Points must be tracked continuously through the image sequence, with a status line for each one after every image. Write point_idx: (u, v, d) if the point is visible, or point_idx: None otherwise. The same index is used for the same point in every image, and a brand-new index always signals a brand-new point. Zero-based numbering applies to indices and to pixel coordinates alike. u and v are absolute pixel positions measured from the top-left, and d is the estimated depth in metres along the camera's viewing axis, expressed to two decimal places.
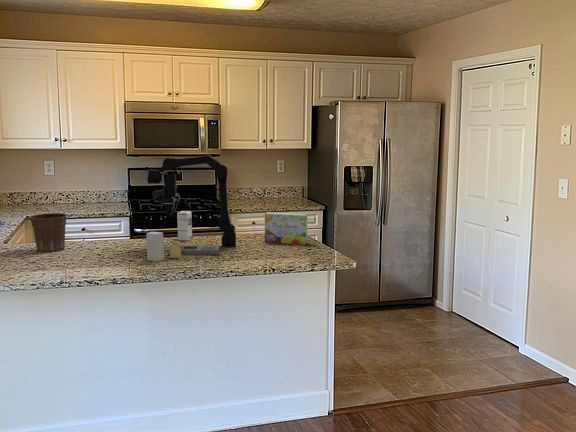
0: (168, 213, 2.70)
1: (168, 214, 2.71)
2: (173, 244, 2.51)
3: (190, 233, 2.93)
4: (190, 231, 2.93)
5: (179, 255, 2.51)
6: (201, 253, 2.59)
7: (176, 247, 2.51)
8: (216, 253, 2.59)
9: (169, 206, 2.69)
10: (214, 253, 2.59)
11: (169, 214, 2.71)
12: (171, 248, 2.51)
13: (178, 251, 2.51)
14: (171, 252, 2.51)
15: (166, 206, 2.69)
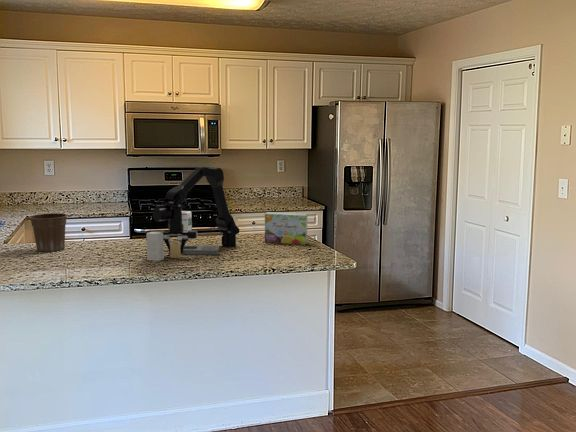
0: None
1: None
2: (173, 244, 2.51)
3: None
4: None
5: (179, 255, 2.51)
6: (201, 253, 2.59)
7: (176, 247, 2.51)
8: (216, 253, 2.59)
9: None
10: (214, 253, 2.59)
11: None
12: (171, 248, 2.51)
13: (178, 251, 2.51)
14: (171, 252, 2.51)
15: None
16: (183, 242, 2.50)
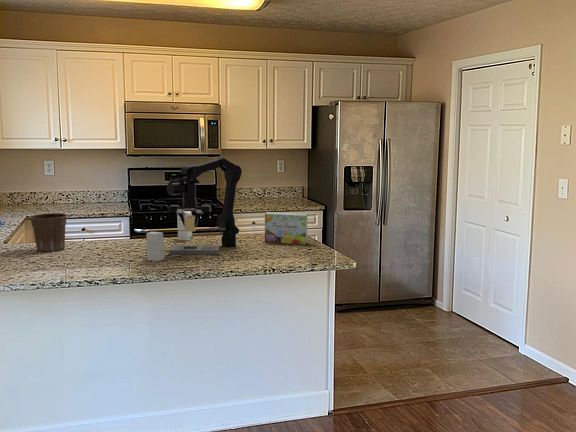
0: None
1: None
2: (187, 218, 2.59)
3: (190, 233, 2.93)
4: (190, 232, 2.93)
5: (193, 228, 2.60)
6: (201, 253, 2.59)
7: (190, 221, 2.59)
8: (216, 253, 2.59)
9: None
10: (214, 253, 2.59)
11: None
12: (185, 222, 2.59)
13: (192, 225, 2.60)
14: (185, 226, 2.60)
15: None
16: (197, 216, 2.59)
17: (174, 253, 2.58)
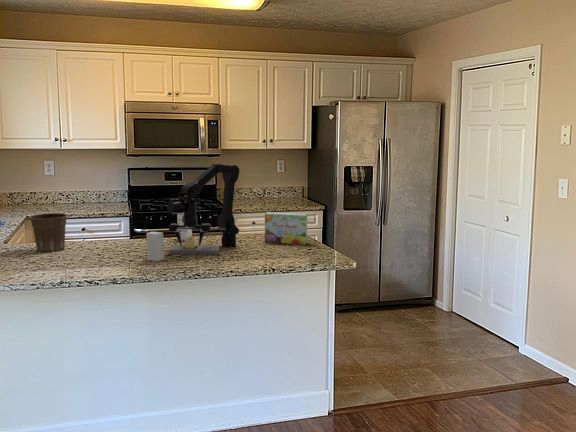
0: None
1: None
2: (188, 240, 2.61)
3: (190, 233, 2.93)
4: (190, 232, 2.93)
5: None
6: (201, 253, 2.59)
7: (191, 243, 2.61)
8: (216, 253, 2.59)
9: None
10: (214, 253, 2.59)
11: None
12: (186, 244, 2.61)
13: (192, 246, 2.61)
14: (186, 247, 2.61)
15: None
16: (201, 235, 2.60)
17: (174, 253, 2.58)
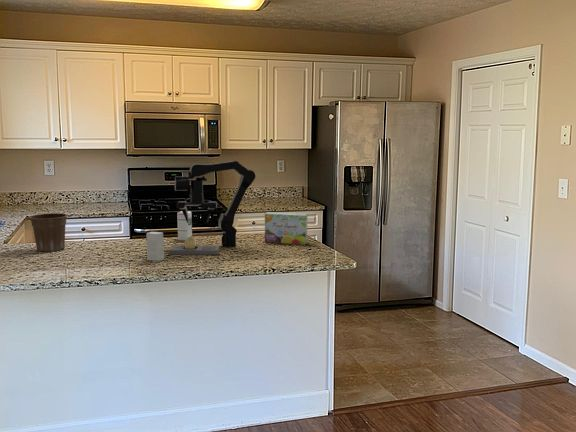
0: None
1: None
2: (188, 240, 2.61)
3: (190, 233, 2.93)
4: (190, 232, 2.93)
5: None
6: (201, 253, 2.59)
7: (191, 243, 2.61)
8: (216, 253, 2.59)
9: None
10: (214, 253, 2.59)
11: None
12: (186, 244, 2.61)
13: (192, 246, 2.61)
14: (186, 247, 2.61)
15: None
16: (208, 212, 2.70)
17: (174, 253, 2.58)
